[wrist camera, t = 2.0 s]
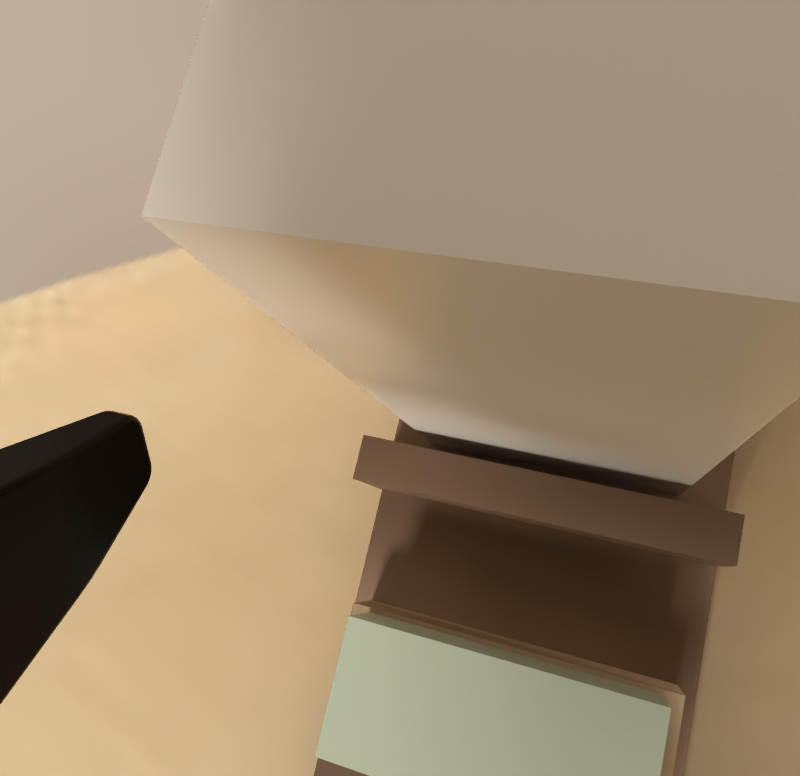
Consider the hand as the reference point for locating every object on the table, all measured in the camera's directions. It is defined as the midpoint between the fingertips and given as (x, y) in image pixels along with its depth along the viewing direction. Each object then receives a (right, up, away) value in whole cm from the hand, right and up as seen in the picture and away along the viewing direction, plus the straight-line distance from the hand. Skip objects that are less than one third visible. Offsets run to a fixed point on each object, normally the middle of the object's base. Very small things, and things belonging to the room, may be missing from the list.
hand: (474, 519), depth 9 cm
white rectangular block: (+3, +1, +10) cm, 10 cm away
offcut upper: (+1, -5, +7) cm, 9 cm away
